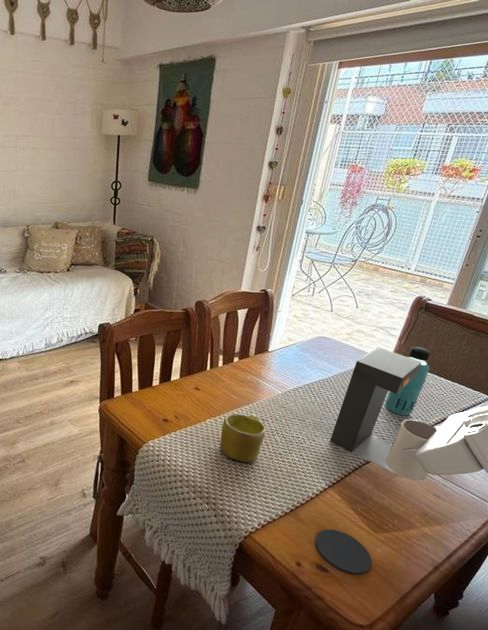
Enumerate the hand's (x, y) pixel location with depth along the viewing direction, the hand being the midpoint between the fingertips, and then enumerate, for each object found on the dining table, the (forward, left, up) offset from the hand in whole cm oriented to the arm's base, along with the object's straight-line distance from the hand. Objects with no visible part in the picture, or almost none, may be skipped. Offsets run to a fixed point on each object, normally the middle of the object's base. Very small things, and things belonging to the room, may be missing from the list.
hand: (410, 447), depth 82 cm
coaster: (-6, +14, -18) cm, 23 cm away
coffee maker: (+18, -13, -18) cm, 28 cm away
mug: (+23, +18, -18) cm, 34 cm away
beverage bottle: (+31, -33, -18) cm, 48 cm away
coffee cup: (-1, 0, -5) cm, 5 cm away
